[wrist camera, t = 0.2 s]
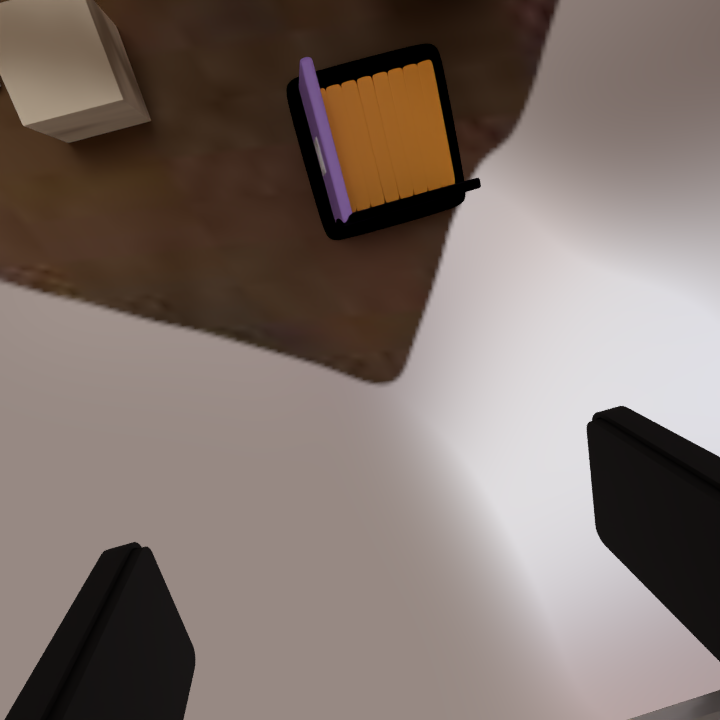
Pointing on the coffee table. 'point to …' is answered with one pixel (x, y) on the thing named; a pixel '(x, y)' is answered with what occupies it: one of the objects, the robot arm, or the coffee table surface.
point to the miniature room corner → (378, 140)
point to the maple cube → (67, 69)
